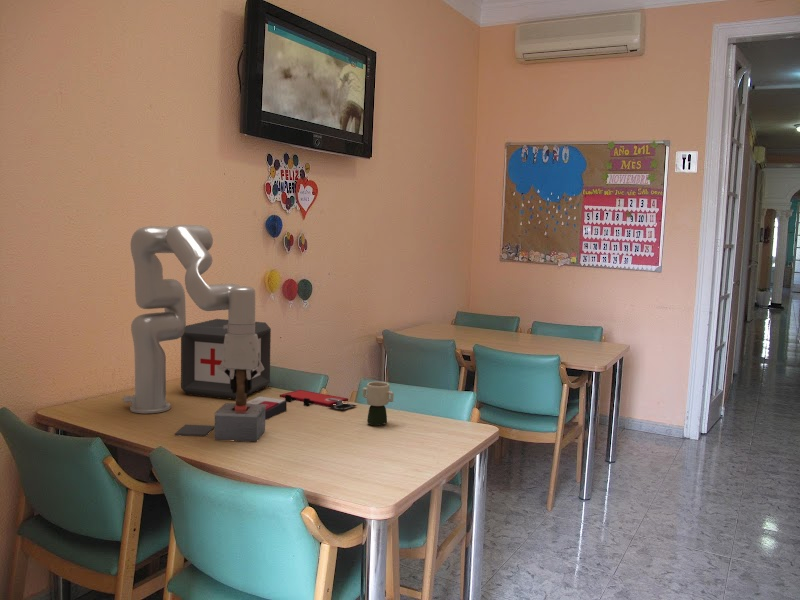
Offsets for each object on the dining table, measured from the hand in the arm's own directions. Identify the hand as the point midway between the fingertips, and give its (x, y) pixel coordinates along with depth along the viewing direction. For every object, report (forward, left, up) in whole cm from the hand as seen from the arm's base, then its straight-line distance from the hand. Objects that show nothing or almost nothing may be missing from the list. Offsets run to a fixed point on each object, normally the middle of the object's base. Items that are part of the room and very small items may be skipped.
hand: (241, 391), depth 197 cm
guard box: (0, 0, -13) cm, 13 cm away
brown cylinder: (0, 0, -4) cm, 4 cm away
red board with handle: (+17, +43, -14) cm, 48 cm away
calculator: (0, +24, -14) cm, 28 cm away
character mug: (+39, +17, -13) cm, 44 cm away
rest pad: (-14, +2, -13) cm, 19 cm away
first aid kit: (-19, +53, -13) cm, 58 cm away
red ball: (0, 0, -7) cm, 7 cm away
